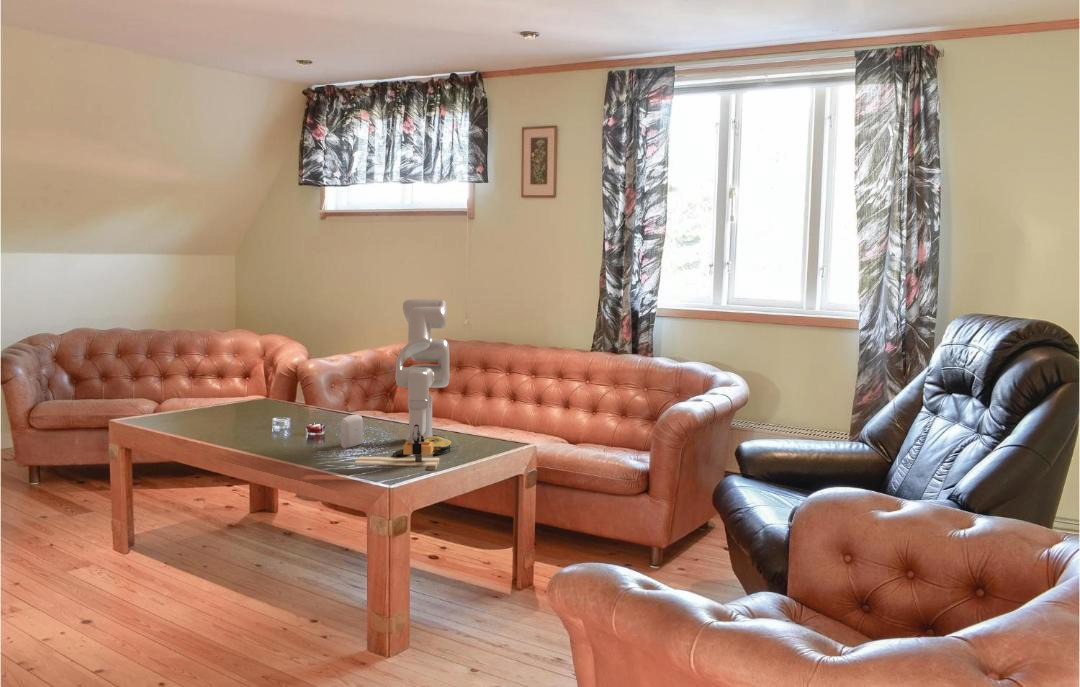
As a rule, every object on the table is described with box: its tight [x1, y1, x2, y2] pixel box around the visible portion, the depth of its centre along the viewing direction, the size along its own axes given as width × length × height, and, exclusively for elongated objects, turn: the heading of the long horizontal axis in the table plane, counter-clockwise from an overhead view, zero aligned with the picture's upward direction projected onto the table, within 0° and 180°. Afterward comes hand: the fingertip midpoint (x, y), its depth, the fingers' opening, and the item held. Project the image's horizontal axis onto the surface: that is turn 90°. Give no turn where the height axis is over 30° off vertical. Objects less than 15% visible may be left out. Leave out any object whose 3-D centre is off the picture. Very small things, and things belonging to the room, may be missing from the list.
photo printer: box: [340, 414, 364, 449], centre depth 354 cm, size 10×4×12 cm, turn 150°
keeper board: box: [352, 455, 440, 471], centre depth 324 cm, size 12×30×7 cm, turn 90°
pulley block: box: [392, 434, 459, 457], centre depth 342 cm, size 14×6×30 cm
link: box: [402, 441, 434, 456], centre depth 324 cm, size 7×10×3 cm
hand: (418, 451), depth 324 cm, fingers closed on link, 7 cm apart
